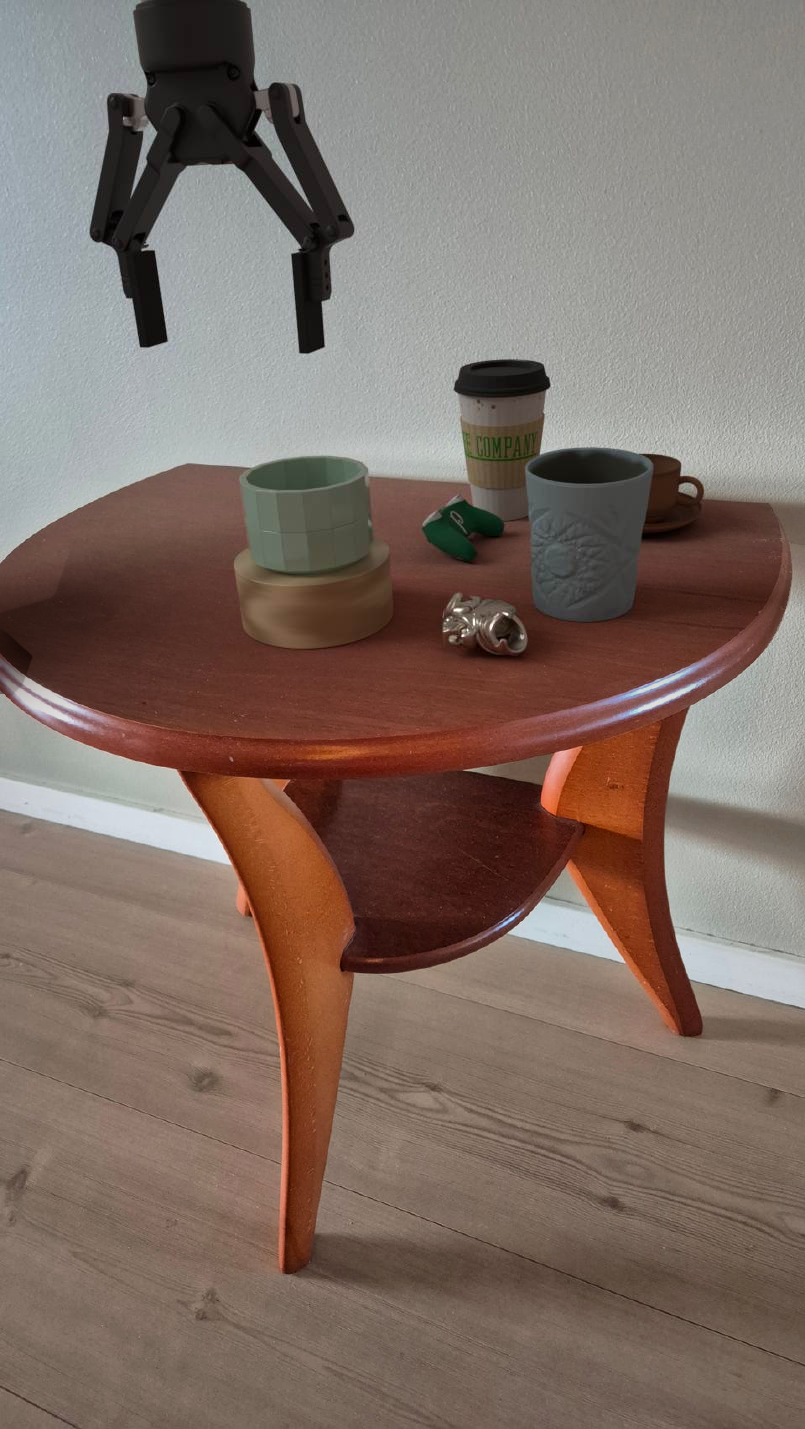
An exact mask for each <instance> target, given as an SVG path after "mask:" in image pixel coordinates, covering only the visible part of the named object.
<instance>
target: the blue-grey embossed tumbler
mask: <svg viewBox="0 0 805 1429" xmlns="http://www.w3.org/2000/svg"><path fill="white" fill-rule="evenodd" d="M640 454H641V453H637V452H634V451H630V450H625V449H620V448H612V447H595V446H594V447H593V446H592V447H585V446H584V447H568V448H561V449H556V450H555V449H554V450H551V451H547V452H543V453H540V455H538V456H537V457H535V458H533V459H532V460H530V461H529V462H528V463H527V464H526V466H525V475H526V488H527V498H528V504H529V515H528V521H529V525H530V527H531V528H530V536H529V537H530V538H529V539H530V541H529V544H530V560H531V569H530V576H531V577H530V579H531V595H532V602H533V605H534V607H535V608H536V610H538V611H539V612H541V613H542V614H544V615H546V616H549V617H551V618H554V619H558V620H562V621H568V622H577V623H578V622H579V623H591V622H601V621H608V620H612V619H615V618H619V617H620V616H623V615H625V614H627V612H629V611H630V610H632V608H633V604H634V601H635V594H636V588H637V581H638V573H639V566H638V565H639V564H638V563H639V561H638V560H639V555H640V552H641V549H642V537H643V533H642V529H643V525H644V522H645V518H646V512H647V507H648V500H649V493H650V486H651V480H652V474H653V463H652V462H651V460H650V459H648V458H647V457H645V456H643V455H640Z"/></svg>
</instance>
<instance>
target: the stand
mask: <svg viewBox="0 0 805 1429" xmlns="http://www.w3.org/2000/svg"><path fill="white" fill-rule="evenodd" d="M373 542H374V544H373V546H372V549H371V551H370V553H369V554H367V555H365V556H364V557H362V558H361V559H359V560H358V561H356V562H354V563H353V564H351V565H349V566H346V567H344V568H341V569H337V570H334V571H329V572H324V573H317V574H287V573H281V572H276V571H273V570H271V569H269V568H264V567H262V566H260V565H258V564H256V563H254V562H253V561H252V559H251V557H250V554H249V550H248V547H245V548H244V549H243V550H242V551H241V552H239V553H238V554H237V555H236V557H235V559H234V561H233V569H234V576H235V582H236V589H237V597H238V602H239V609H240V616H241V623H242V628H243V630H244V632H245V633H246V635H248V636H249V637H250V638H252V639H253V640H255V641H257V642H259V643H262V644H265V645H267V646H268V645H269V646H273V647H277V648H283V649H293V650H294V649H297V650H298V649H299V650H310V649H312V650H313V649H324V648H331V647H337V646H342V645H346V644H347V645H348V644H351V643H354V642H357V641H360V640H363V639H366V638H368V637H370V636H372V635H374V634H376V633H378V632H380V631H381V630H382V629H383V628H385V627H386V626H387V625H388V624H389V623H390V621H391V620H392V618H393V616H394V602H393V587H392V586H393V585H392V570H391V554H390V548H389V546H388V545H387V544H386V543H385V541H383V540H382V539H380V538H378V537H376V536H373Z"/></svg>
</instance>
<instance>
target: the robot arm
mask: <svg viewBox="0 0 805 1429" xmlns="http://www.w3.org/2000/svg"><path fill="white" fill-rule="evenodd" d="M132 17H133V22H134V31H135V37H136V45H137V53H138V58H139V65H140V67H141V70H142V71H143V74H144V76H145V79H146V92H145V97H141V96H139V95H138V94H136V93H127V92H126V93H124V92H122V93H121V92H110V93H109V94H108V96H107V98H106V108H107V109H106V110H107V112H106V113H107V122H108V124H107V125H108V133H107V139H106V143H105V149H104V153H103V159H102V163H101V164H102V165H101V170H100V175H99V179H98V184H97V190H96V194H95V200H94V205H93V210H92V216H91V220H90V226H89V233H88V234H89V237H90V239H91V240H92V241H93V242H94V243H97V244H98V243H102V244H104V245H106V246H109V247H110V248H112V249H113V250H114V252H115V253H116V256H117V260H118V268H119V273H120V280H121V286H122V292H123V294H124V296H125V298H126V299H130V300H132V306H133V312H134V320H135V325H136V331H137V332H136V333H137V338H138V344H139V348H145V349H148V348H152V347H155V346H159V345H162V344H165V343H168V342H169V339H168V332H167V325H166V324H167V323H166V318H165V311H164V310H165V309H164V304H163V298H162V297H163V296H162V291H161V284H160V283H161V282H160V276H159V269H158V262H157V256H156V250H155V249H147V248H149V246H150V244H149V243H147V240H148V238H149V236H150V235H151V232H152V230H153V228H154V226H155V224H156V222H157V220H158V218H159V215H161V212H162V210H163V208H164V206H165V204H166V202H167V199H168V198H169V195H170V194H171V192H172V189H173V187H174V186H175V183H176V181H177V179H178V178H179V176H180V174H181V173H182V172H184V171H185V170H186V169H187V167H195V166H209V165H211V166H223V165H233V166H235V167H236V168H237V169H238V170H240V171H241V172H243V173H244V175H246V178H248V179H249V181H250V182H251V184H252V185H253V186H254V187H255V189H256V190H257V191H258V193H259V194H260V195H261V196H262V198H263V199H264V200H265V201H266V203H267V204H268V205H269V207H270V208H271V209H272V211H273V212H274V213H275V214H276V216H277V217H278V219H279V220H280V221H281V223H282V224H283V225H284V227H285V228H286V229H287V230H288V232H289V233H290V234H291V236H292V237H293V238H294V240H295V241H296V243H298V245H299V246H300V248H298V249H297V252H292V253H291V254H290V257H291V270H292V280H293V281H292V282H293V295H294V306H295V307H294V309H295V318H296V329H297V330H296V331H297V341H298V342H297V344H298V354H303V355H309V354H312V353H314V352H316V351H319V350H321V349H324V348H326V343H325V329H324V327H325V326H324V317H323V316H324V312H323V302H326V301H328V300H330V299H331V296H332V293H333V288H332V275H331V274H332V273H331V256H330V253H331V249H332V247H334V246H335V245H336V244H338V243H341V242H342V241H345V240H347V239H350V238H352V237H353V236H354V234H355V224H354V222H353V220H352V218H351V216H350V214H349V212H348V209H347V207H346V206H345V203H344V200H343V198H342V197H341V194H340V192H339V190H338V188H337V186H336V183H335V181H334V178H333V177H332V175H331V173H330V171H329V168H328V167H327V164H326V162H325V160H324V158H323V156H322V153H321V151H320V149H319V147H318V145H317V143H316V140H315V138H314V136H313V134H312V132H311V129H310V127H309V125H308V123H307V120H306V119H307V118H306V113H305V106H304V101H303V94H302V90H301V88H300V86H299V85H298V84H296V83H290V82H279V81H278V82H275V81H274V82H272V83H270V85H269V86H268V87H267V88H262V89H259V87H258V86H257V82H256V78H255V66H256V54H255V42H254V32H253V31H254V30H253V20H252V10H251V8H250V7H248V4H247V2H246V1H243V0H140V2H138V3H137V4H136V5H135V9H134V10H133V11H132ZM263 113H264V117H265V119H266V120H267V121H268V122H269V123H270V124H271V125H273V127H274V130H275V134H276V136H277V138H278V141H279V143H280V145H281V147H282V149H283V151H284V153H285V156H286V157H287V160H288V162H289V164H290V166H291V169H292V171H293V173H294V174H295V177H296V179H297V181H298V183H299V185H300V187H301V189H302V192H303V193H304V195H305V198H306V200H307V202H308V203H307V202H306V200H305V199H304V198H303V196H302V195H301V194H300V192H299V191H298V190H297V189H296V187H295V186H294V184H292V182H291V181H290V179H289V178H288V177H287V175H286V174H285V173H284V172H283V170H282V168H280V166H279V165H278V164H277V162H276V161H275V160H274V158H273V153H272V150H270V148H269V147H268V146H267V144H266V142H264V140H263V139H262V138H261V136H260V135H259V133H258V132H257V131H256V128H257V126H258V124H259V121H260V118H261V117H262V114H263ZM149 123H150V124H151V126H152V127H153V129H154V130H155V132H156V135H155V137H154V139H153V141H152V143H151V146H150V147H149V149H148V152H147V153H146V157H145V160H146V164H145V167H144V169H143V171H142V173H141V175H140V177H139V179H138V181H137V184H136V186H135V188H134V184H135V179H136V174H137V170H138V165H139V160H140V158H141V157H140V156H141V151H142V147H143V143H144V142H143V141H144V131H145V130H146V129H147V127H148V126H149ZM133 189H134V190H133ZM144 249H146V250H144Z"/></svg>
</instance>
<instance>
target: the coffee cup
mask: <svg viewBox="0 0 805 1429" xmlns="http://www.w3.org/2000/svg"><path fill="white" fill-rule="evenodd" d="M551 387H552V385H551V379H550V377H549V376H548V375H547V371H546V368H545V365H544V363H542V362H539V361H536V360H529V359H518V358H515V359H514V358H509V359H508V358H505V359H489V360H481V361H476V362H471V363H467V364H464V365H462V366H461V367H460V368H459V371H458V376H457V379H456V380H455V381H454V386H453V392H455V393H456V394H457V396H458V403H459V411H460V417H459V422H460V429H461V438H462V443H463V451H464V458H465V465H466V466H465V467H466V473H467V480H468V482H469V486H470V494H471V502H472V506H474V507H477V508H480V509H483V510H486V511H488V512H490V513H492V514H495V515H496V516H498V517H499V518H500V519H501V520H502V521H503V522H505V521H507V522H509V521H514V520H515V521H516V520H520V519H523V518H526V517H529V504H528V498H527V488H526V475H525V466H526V464H527V463H528V462H529V461H530V460H532V459H533V458H535V457H537V456H538V455H541V448H542V441H543V440H542V439H543V433H544V424H545V416H546V415H545V412H544V411H545V403H546V394H547V390H549V389H550V388H551Z"/></svg>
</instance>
